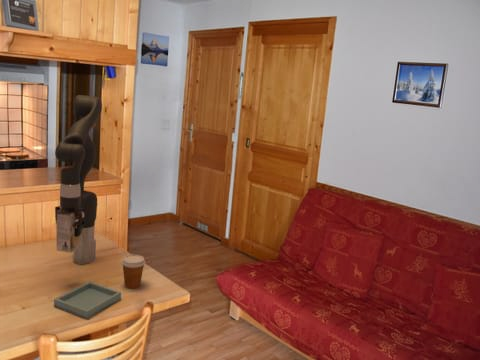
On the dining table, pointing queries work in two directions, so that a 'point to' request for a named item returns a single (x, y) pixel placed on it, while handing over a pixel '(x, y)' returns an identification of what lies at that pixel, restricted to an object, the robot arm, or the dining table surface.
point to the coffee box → (67, 231)
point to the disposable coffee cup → (133, 270)
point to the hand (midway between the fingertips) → (70, 234)
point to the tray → (87, 300)
